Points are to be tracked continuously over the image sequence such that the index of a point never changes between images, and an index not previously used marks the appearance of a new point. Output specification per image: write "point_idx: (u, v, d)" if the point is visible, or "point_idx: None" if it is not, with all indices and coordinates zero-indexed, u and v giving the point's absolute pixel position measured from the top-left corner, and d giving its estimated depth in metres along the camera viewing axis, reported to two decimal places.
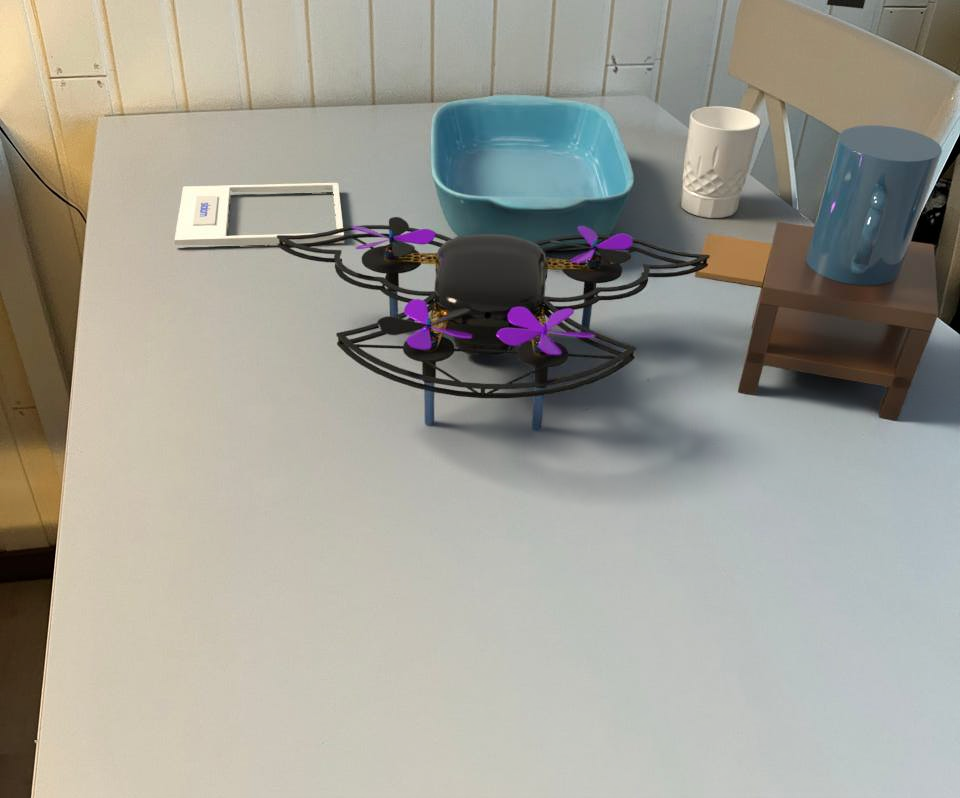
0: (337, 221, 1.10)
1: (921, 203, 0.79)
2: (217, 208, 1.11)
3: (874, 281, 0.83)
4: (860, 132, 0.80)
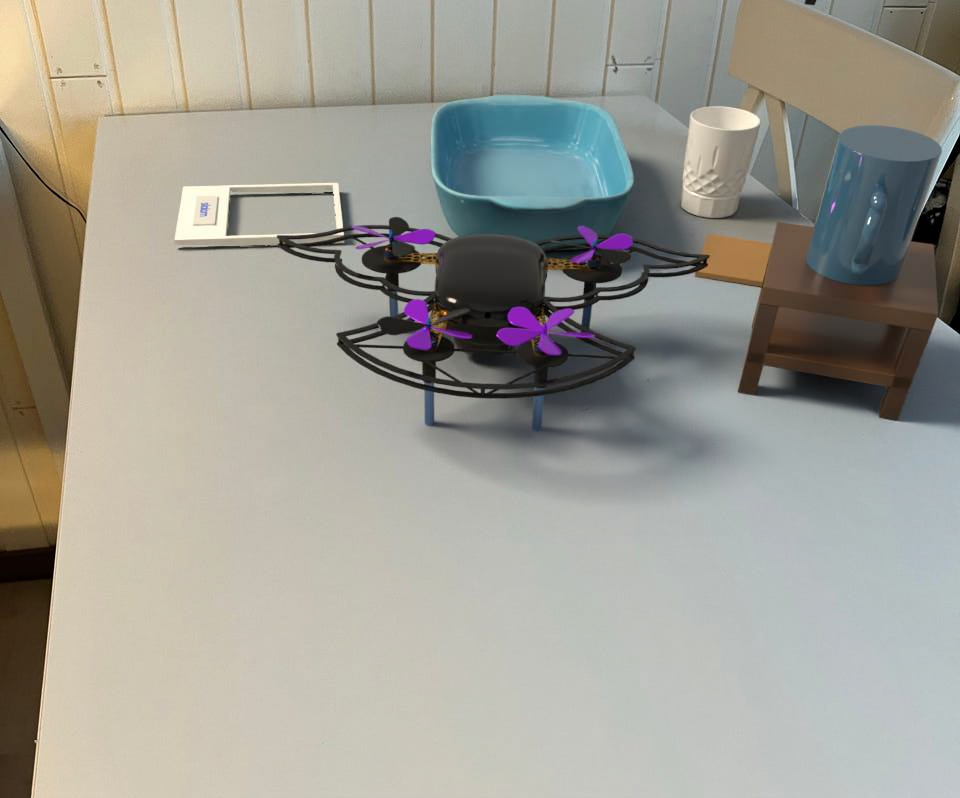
0: (337, 221, 1.10)
1: (921, 203, 0.79)
2: (217, 208, 1.11)
3: (874, 281, 0.83)
4: (860, 132, 0.80)
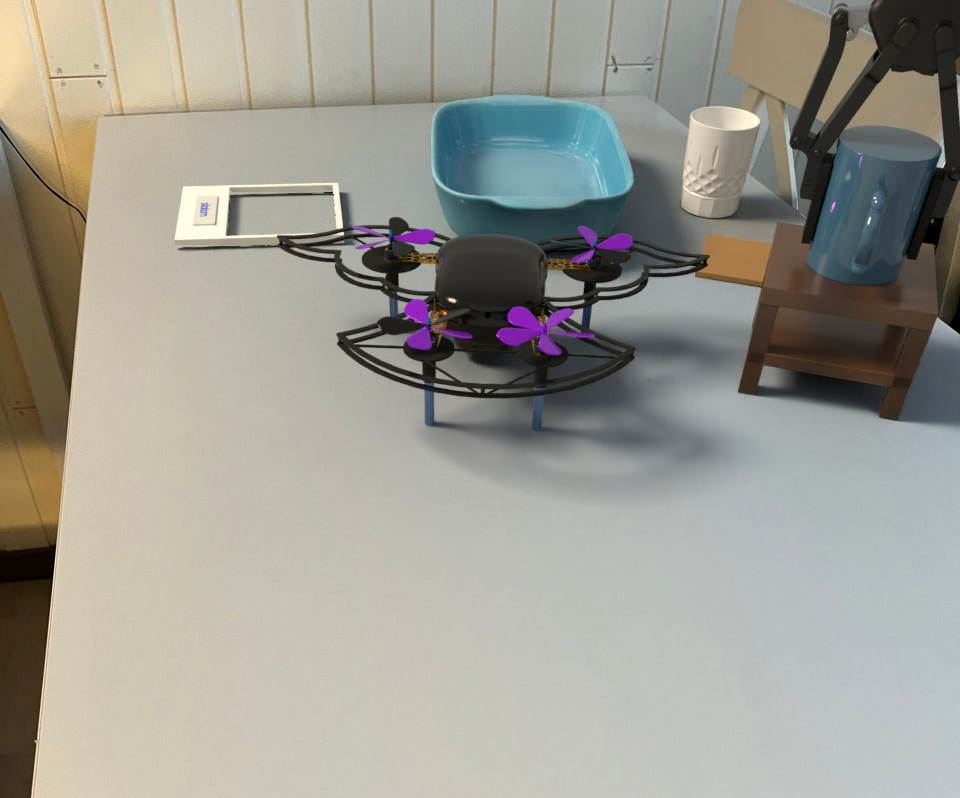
0: (337, 221, 1.10)
1: (921, 203, 0.79)
2: (217, 208, 1.11)
3: (874, 281, 0.83)
4: (860, 132, 0.80)
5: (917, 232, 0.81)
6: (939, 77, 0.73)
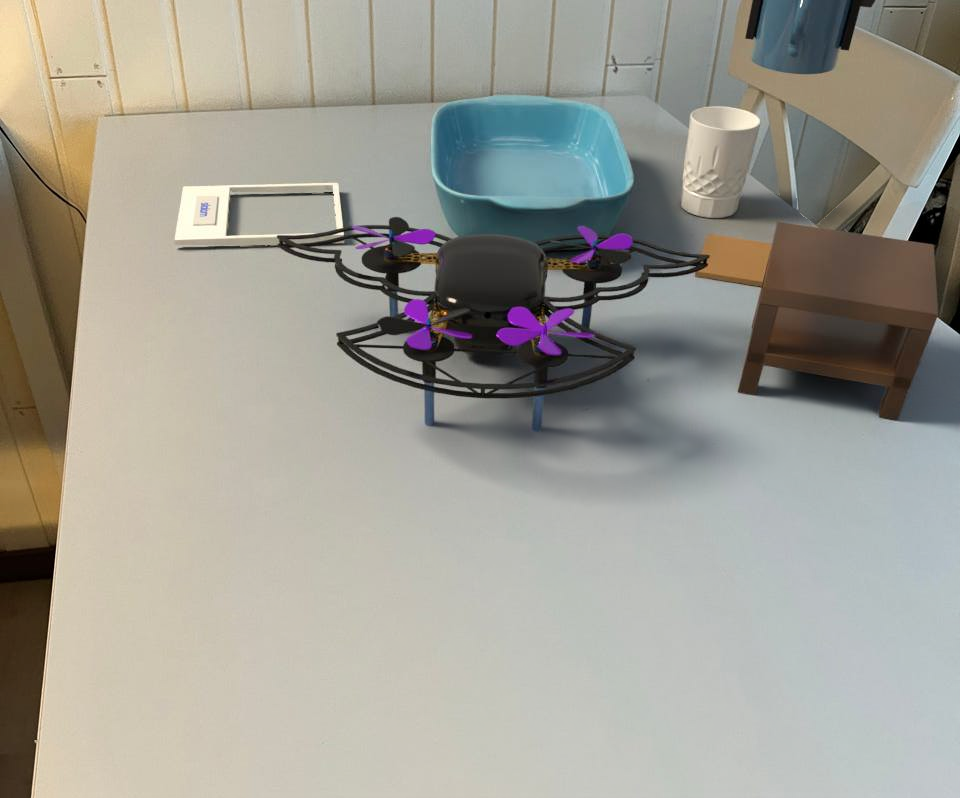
0: (337, 221, 1.10)
1: None
2: (217, 208, 1.11)
3: (810, 69, 0.91)
4: None
5: (848, 21, 0.89)
6: None
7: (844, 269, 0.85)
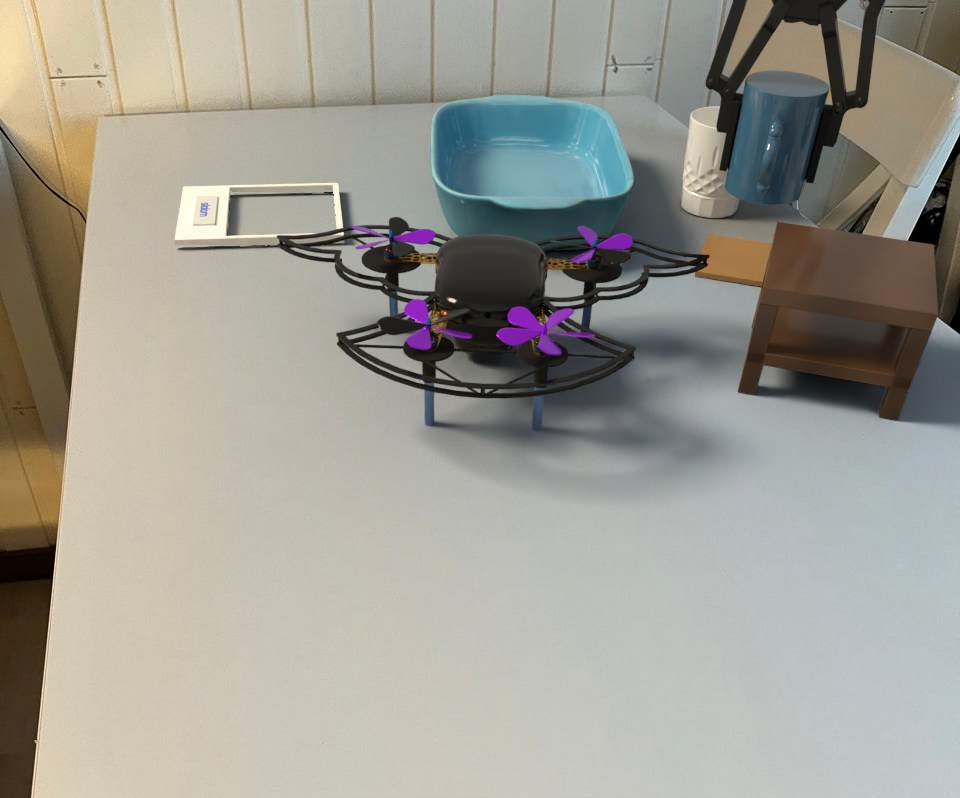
0: (337, 221, 1.10)
1: (814, 134, 0.96)
2: (217, 208, 1.11)
3: (778, 201, 0.99)
4: (764, 75, 0.97)
5: (812, 159, 0.98)
6: (821, 26, 0.90)
7: (844, 269, 0.85)
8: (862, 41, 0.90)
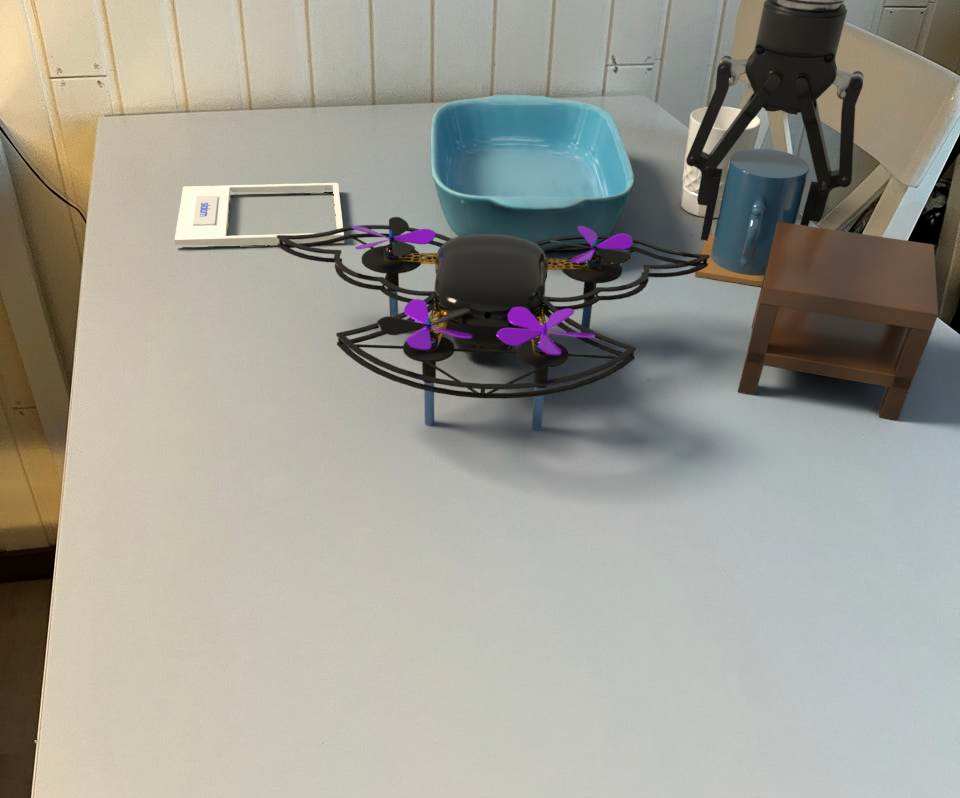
0: (337, 221, 1.10)
1: (795, 210, 1.01)
2: (217, 208, 1.11)
3: (762, 271, 1.05)
4: (748, 154, 1.02)
5: None
6: (802, 115, 0.95)
7: (844, 269, 0.85)
8: (841, 127, 0.95)
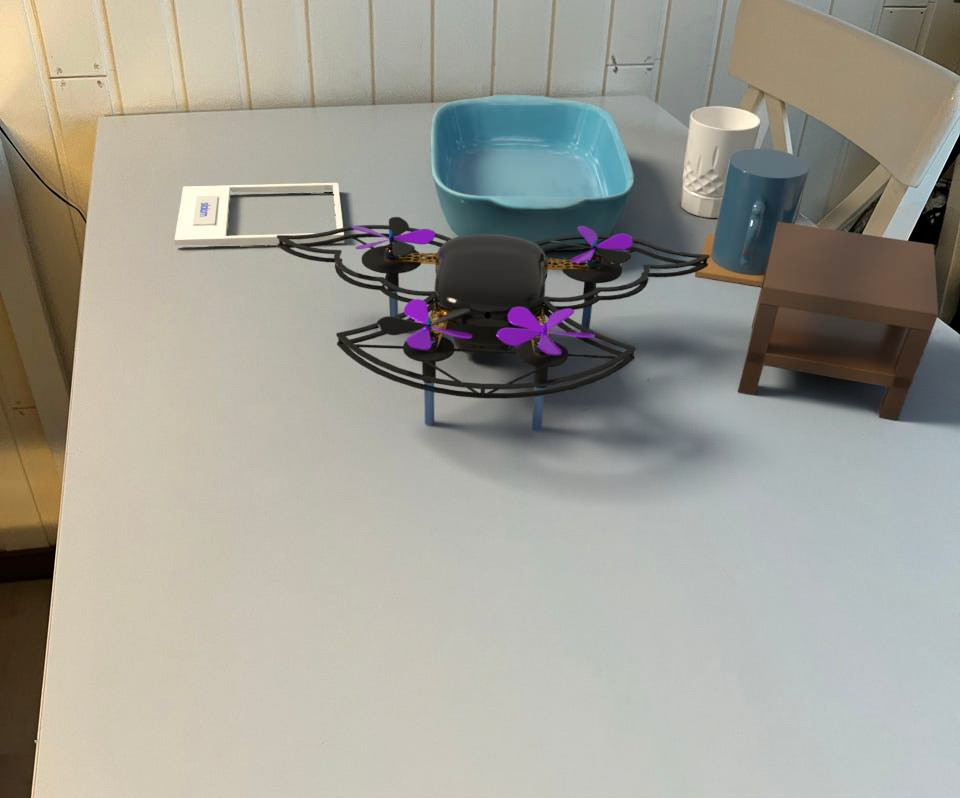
0: (337, 221, 1.10)
1: (795, 210, 1.01)
2: (217, 208, 1.11)
3: (762, 271, 1.05)
4: (748, 154, 1.02)
5: None
6: None
7: (844, 269, 0.85)
8: None
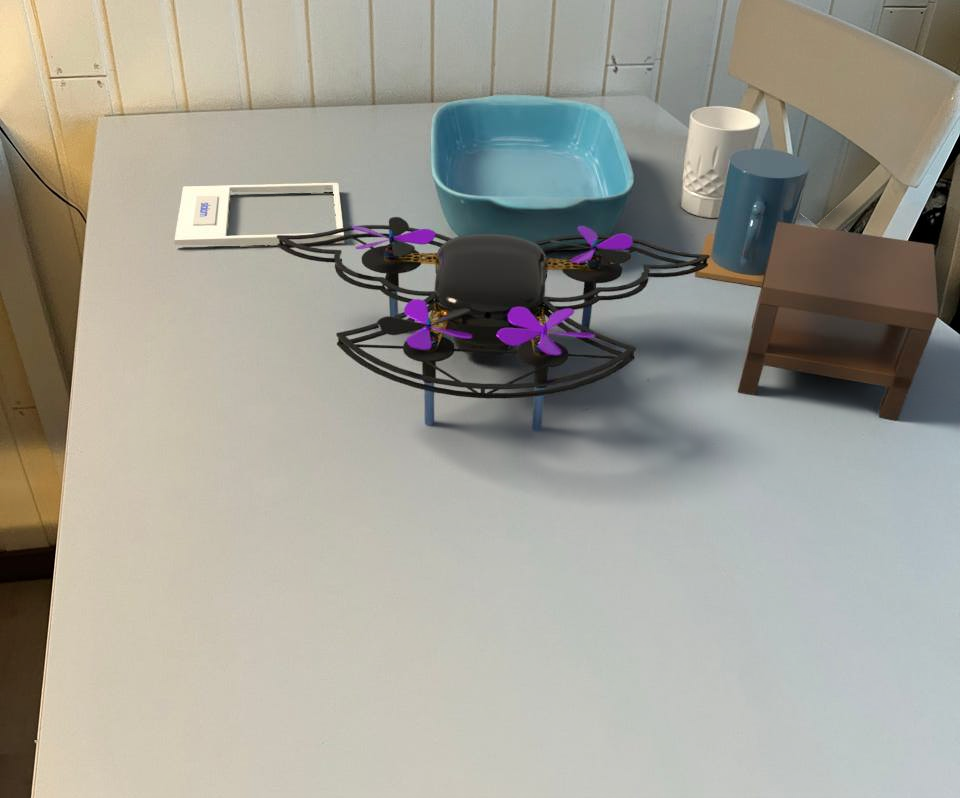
0: (337, 221, 1.10)
1: (795, 210, 1.01)
2: (217, 208, 1.11)
3: (762, 271, 1.05)
4: (748, 154, 1.02)
5: None
6: None
7: (844, 269, 0.85)
8: None
